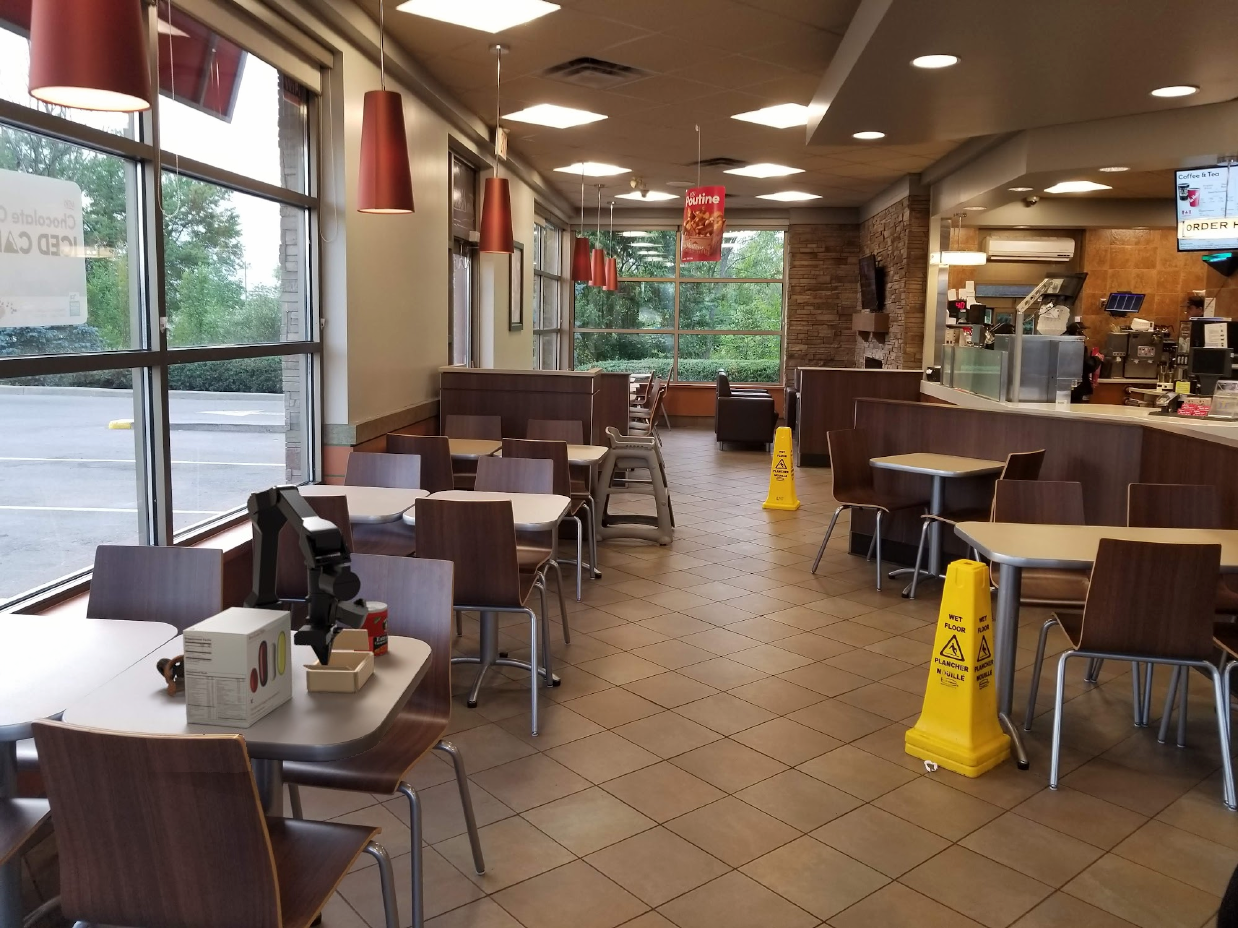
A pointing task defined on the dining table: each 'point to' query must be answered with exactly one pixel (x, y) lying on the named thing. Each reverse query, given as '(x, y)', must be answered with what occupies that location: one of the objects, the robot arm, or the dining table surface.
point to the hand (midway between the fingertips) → (325, 665)
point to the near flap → (328, 667)
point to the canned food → (376, 628)
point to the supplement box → (237, 666)
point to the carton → (341, 673)
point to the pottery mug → (173, 673)
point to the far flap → (351, 640)
